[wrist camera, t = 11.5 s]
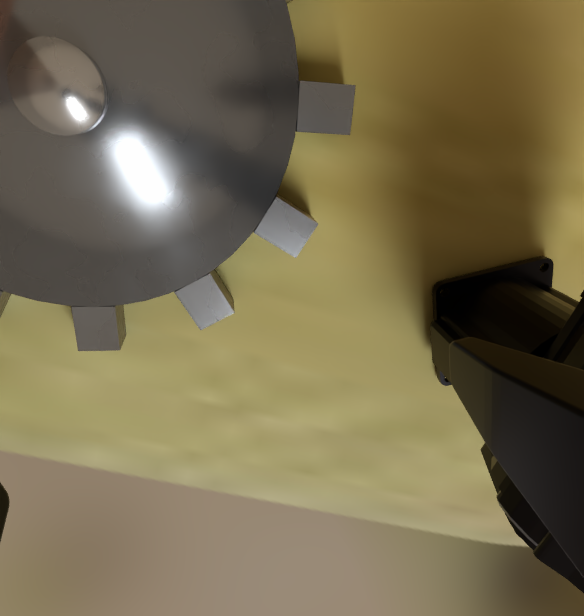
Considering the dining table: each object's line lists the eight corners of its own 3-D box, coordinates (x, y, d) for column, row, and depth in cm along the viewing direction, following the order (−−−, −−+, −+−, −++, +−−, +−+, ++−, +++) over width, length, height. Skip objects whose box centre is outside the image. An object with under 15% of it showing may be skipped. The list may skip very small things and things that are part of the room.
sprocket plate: (286, -379, 13) (300, -474, 11) (369, 275, 22) (384, 292, 20) (-478, -259, 12) (-631, -340, 9) (-53, 378, 21) (-83, 408, 19)
